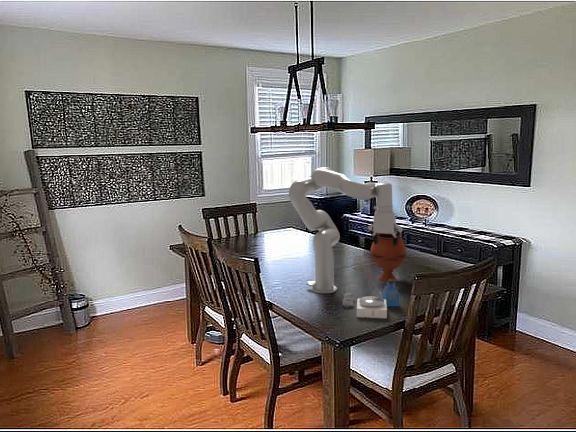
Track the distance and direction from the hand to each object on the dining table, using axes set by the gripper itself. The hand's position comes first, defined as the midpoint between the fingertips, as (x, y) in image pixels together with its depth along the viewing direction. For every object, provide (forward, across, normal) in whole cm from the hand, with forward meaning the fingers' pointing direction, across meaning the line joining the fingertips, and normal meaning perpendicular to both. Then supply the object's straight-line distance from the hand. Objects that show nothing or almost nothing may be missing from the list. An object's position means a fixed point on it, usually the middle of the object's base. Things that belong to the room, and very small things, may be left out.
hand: (385, 244), depth 224 cm
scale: (+27, 0, -19) cm, 33 cm away
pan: (+23, +1, -19) cm, 29 cm away
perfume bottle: (+28, +4, -5) cm, 29 cm away
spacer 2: (+27, -12, -17) cm, 34 cm away
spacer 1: (+27, -15, -11) cm, 33 cm away
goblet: (+27, -12, +30) cm, 43 cm away
